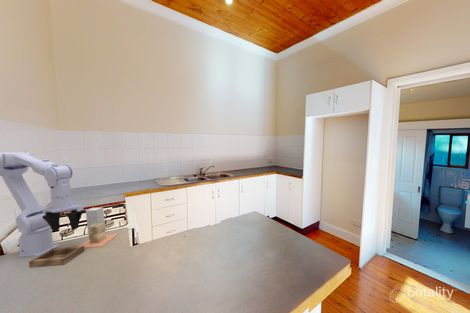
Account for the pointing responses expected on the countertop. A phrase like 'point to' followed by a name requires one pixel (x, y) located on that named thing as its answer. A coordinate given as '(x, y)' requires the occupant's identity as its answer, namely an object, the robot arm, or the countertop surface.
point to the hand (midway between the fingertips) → (65, 229)
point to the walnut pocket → (56, 256)
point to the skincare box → (95, 216)
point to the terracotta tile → (100, 244)
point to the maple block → (96, 233)
